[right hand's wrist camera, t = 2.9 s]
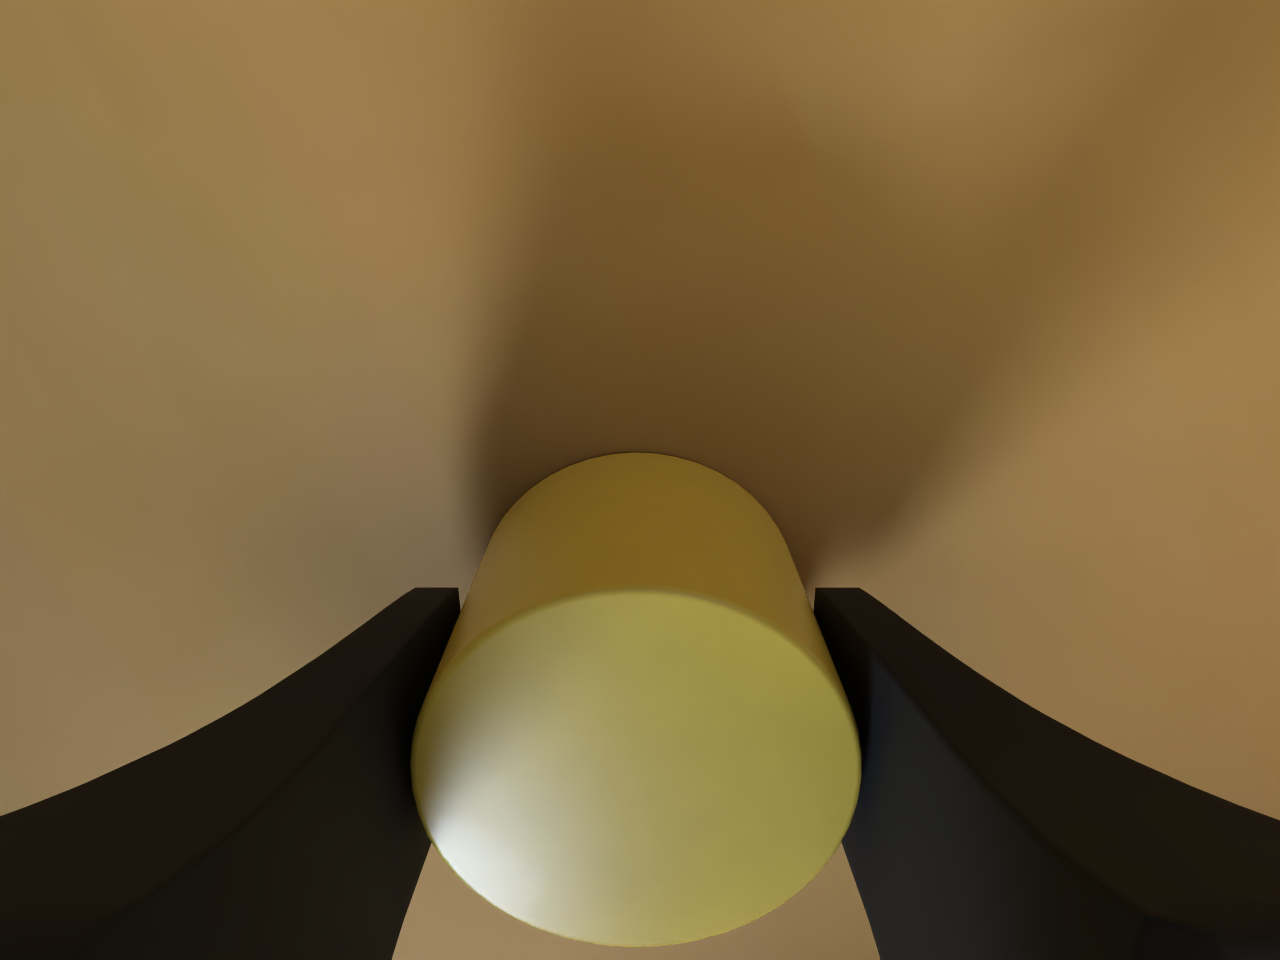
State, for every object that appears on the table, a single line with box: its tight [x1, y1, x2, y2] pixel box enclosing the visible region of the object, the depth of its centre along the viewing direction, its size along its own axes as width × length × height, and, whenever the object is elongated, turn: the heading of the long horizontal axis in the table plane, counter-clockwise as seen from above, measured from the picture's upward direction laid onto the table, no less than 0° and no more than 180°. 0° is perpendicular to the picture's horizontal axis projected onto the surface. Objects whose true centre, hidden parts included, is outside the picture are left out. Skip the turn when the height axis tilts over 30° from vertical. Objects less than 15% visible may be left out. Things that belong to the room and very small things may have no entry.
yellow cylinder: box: [410, 453, 862, 947], centre depth 11 cm, size 5×5×4 cm
